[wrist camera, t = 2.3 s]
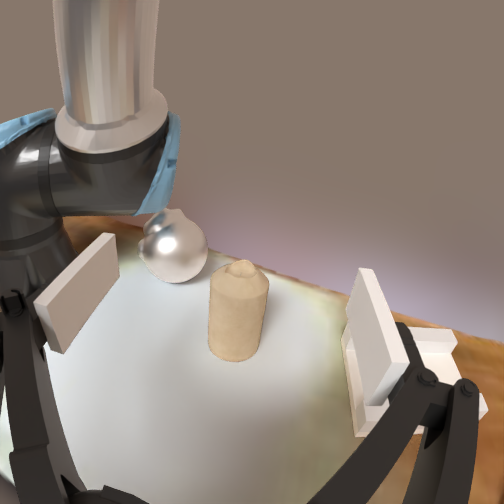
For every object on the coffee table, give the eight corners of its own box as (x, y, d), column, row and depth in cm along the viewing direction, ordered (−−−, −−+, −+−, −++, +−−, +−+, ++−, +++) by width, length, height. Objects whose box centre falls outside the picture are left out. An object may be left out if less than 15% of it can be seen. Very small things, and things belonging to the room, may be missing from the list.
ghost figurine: (181, 253, 49) (182, 193, 44) (219, 281, 44) (224, 215, 39) (130, 270, 43) (125, 205, 39) (164, 305, 38) (160, 232, 33)
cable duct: (354, 437, 24) (366, 421, 23) (340, 340, 36) (347, 321, 34) (473, 426, 24) (488, 410, 22) (441, 345, 35) (451, 329, 34)
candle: (220, 321, 37) (226, 247, 32) (264, 336, 35) (278, 261, 31) (199, 351, 32) (200, 273, 27) (247, 369, 31) (260, 292, 26)
